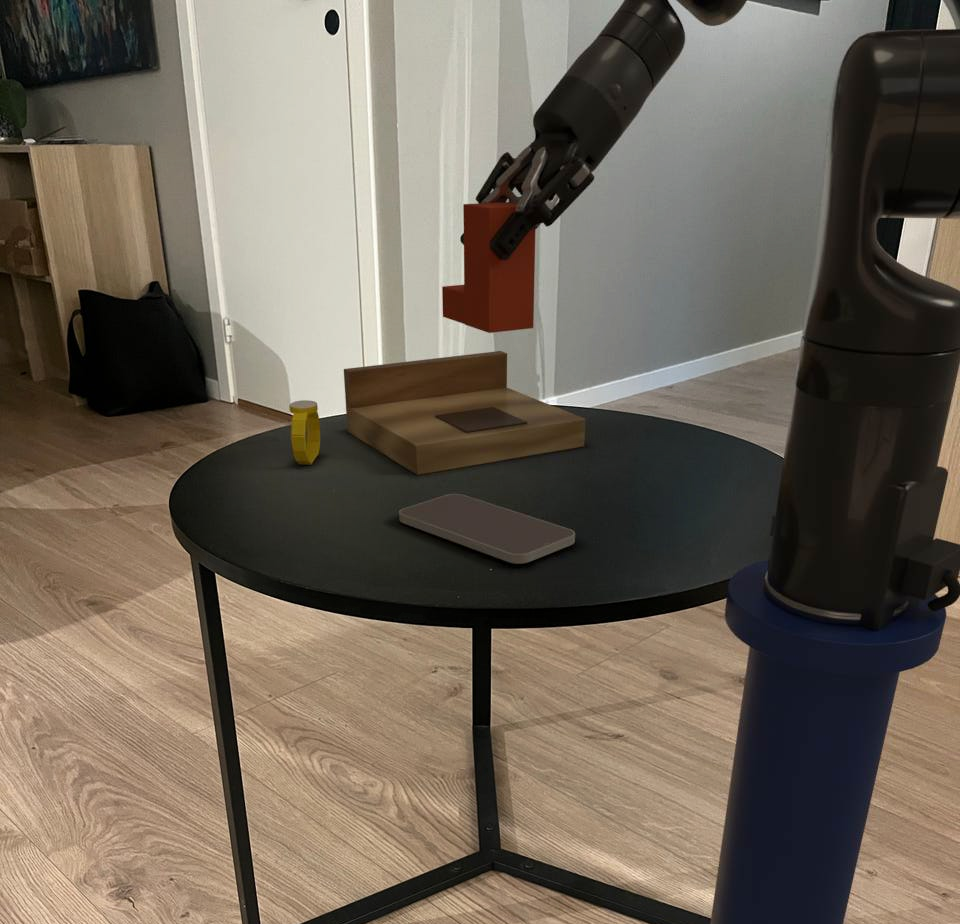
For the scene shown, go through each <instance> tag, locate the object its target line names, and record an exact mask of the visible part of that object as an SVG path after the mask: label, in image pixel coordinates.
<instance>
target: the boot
mask: <svg viewBox="0 0 960 924" xmlns="http://www.w3.org/2000/svg"><path fill="white" fill-rule="evenodd" d="M517 204H518V203H512V202H509V201H506V202H499V203H478V202H477V203H464V204H463V207H462V208H463V209H462V210H463V211H462V212H463V214H462V215H463V217H462V218H463V233H464V245H463V284H457V285H456V284H455V285H444V286H442V287H441V295H442V297H441V298H442V318H446V319H448V320H451V321H454V322H457V323H460V324H463V325H464V326H467V327H470V328H473V329H476V330H479V331H482V332H485V333H488V334H494V333H502V332H511V331H519V330H528V329H530V330H531V329H534V321H535V319H534V317H535V272H536V271H535V270H536V269H535V267H536V266H535V265H536V229H535V230H533V231H532V230H530V231H529V233H528V234H527V235H526V236H525V238H524V239H523V240H522V242H521V243H520V244H519V245H518V247H517V248H516V249H515V251H514V252H513V253H512V255H511V256H510V257H509V258H508V259H507V260H502V259H499V258H498V257H497V256H496V254H495V253H494V252H493V251H492V250H491V249H490V247H489V243H490V241H491V239H492V238H493V237H494V236H495V234H496V233H497V232H498V230H499V229H500V228H501V226H502V225H503V224H504V223H505V221H506V220H507V219H508V217H509V216H510V215H511V214H512V213H516V214H517V212H516V211H515V208H516V206H517Z"/></svg>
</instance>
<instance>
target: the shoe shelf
mask: <svg viewBox="0 0 960 924" xmlns="http://www.w3.org/2000/svg"><path fill="white" fill-rule="evenodd" d="M343 381H344V397H345V413H346V429H347V430H346V431H347V432H348V433H349V434H351V435H352V436H354V437H356V438H357V439H359V440H361V441H362V442H363V443H365V444H366V445H368V446H370V447H372V448H373V449H375V450H377V451H378V452H379V453H381V454H383V455H385V456H386V457H387V458H389V459H390V460H392V461H394V462H396V463H397V464H399V465H401V466H402V467H404V468H405V469H407V470H409V471H410V472H412V473H413V474H415V475H417V476H419V475H425V474H431V473H436V472H443V471H448V470H449V471H450V470H454V469H460V468H461V469H462V468H466V467H470V466H477V465H482V464H489V463H496V462H501V461H506V460H512V459H518V458H519V459H520V458H523V457H530V456H536V455H543V454H547V453H548V454H549V453H553V452H559V451H565V450H571V449H576V448H583V447H585V439H586V438H585V437H586V435H585V434H586V418H584V417H582V416H579V415H577V414H574V413H571V412H569V411H567V410H564V409H562V408H560V407H556V406H554V405H552V404H549V403H547V402H544V401H542V400H539V399H536V398H534V397H532V396H529V395H527V394H524V393H522V392H520V391H517V390H514V389H512V388H509V387H508V353H507V352H505V351H502V350H496V351H488V352H478V353H470V354H469V353H468V354H462V355H453V356H445V357H436V358H427V359H418V360H410V361H401V362H400V361H399V362H392V363H382V364H375V365H374V364H373V365H367V366H357V367H349V368H344V369H343Z"/></svg>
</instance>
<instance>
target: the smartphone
mask: <svg viewBox="0 0 960 924" xmlns="http://www.w3.org/2000/svg"><path fill="white" fill-rule="evenodd" d="M398 520H399V522H400V523H401V524H404V525H407V526H409V527H413V528H415V529H418V530H421V531H422V532H426V533H429V534H431V535H434V536H436V537H440V538H442V539H446V540H447V541H450V542H453V543H456V544H458V545H461V546H464V547H467V548H469V549H471V550H474V551H477V552H480V553H483V554H485V555H488V556H491V557H493V558H496V559H499V560H502V561H505V562H506V563H509V564H515V565H516V564H517V565H518V564H519V565H521V564H528V563H530V562H533V561H535V560H537V559H541V558H542V557H545V556H547V555H550V554H552V553H555V552H558V551H561V550H562V549H565V548H567V547H570V546H572V545H574V544H575V541H576V532H575V531H574V530H572V529H571V528H567V527H565V526H561V525H558V524H555V523H552V522H549V521H546V520H543V519H539V518H536V517H533V516H530V515H527V514H524V513H521V512H518V511H515V510H512V509H508V508H505V507H503V506H499V505H497V504H493V503H489V502H486V501H483V500H481V499H477V498H475V497H471V496H468V495H464V494H461V493H450V494H445V495H441V496H439V497H436V498H432V499H429V500H426V501H423V502H420V503H416V504H414V505H411V506H408V507H404V508H402V509H400V510H399V512H398Z"/></svg>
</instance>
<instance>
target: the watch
mask: <svg viewBox="0 0 960 924" xmlns="http://www.w3.org/2000/svg"><path fill="white" fill-rule="evenodd" d="M288 407H289V412H290V413H291V414H292V418H291V430H290V440H291V449H292V453H293V458H294V460H295V461H296V462H297V464H298V465H304V466H305V465H306V466H311V465H312V464H313V462H315V460H316V458H317V457H318V456H320V449H321V422H320V416H319V412H318V410H319V407H318V402H317V401H314V400H309V399H308V400H306V399H305V400H303V399H302V400H296V401H292V402H291V403H289V406H288Z"/></svg>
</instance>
